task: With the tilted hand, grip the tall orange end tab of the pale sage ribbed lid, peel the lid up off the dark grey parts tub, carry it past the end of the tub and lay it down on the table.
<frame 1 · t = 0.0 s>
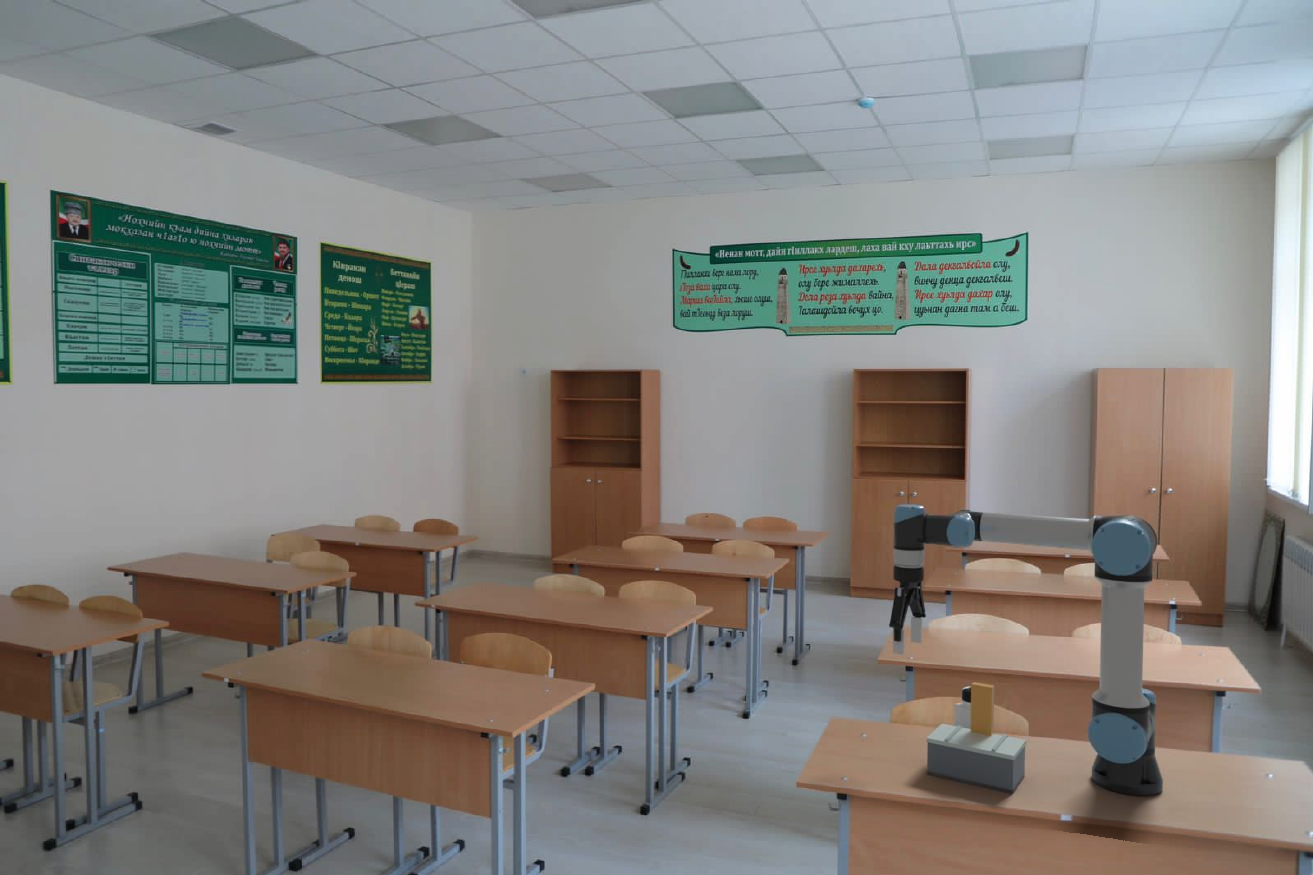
hand: (907, 648, 234), 28 cm above the table, tool pointing down, fingers open, 13 cm apart
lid: (976, 743, 222), point 8 cm above the table, touching tub
tub: (975, 775, 222), on the table
medicine bottle: (972, 732, 253), on the table
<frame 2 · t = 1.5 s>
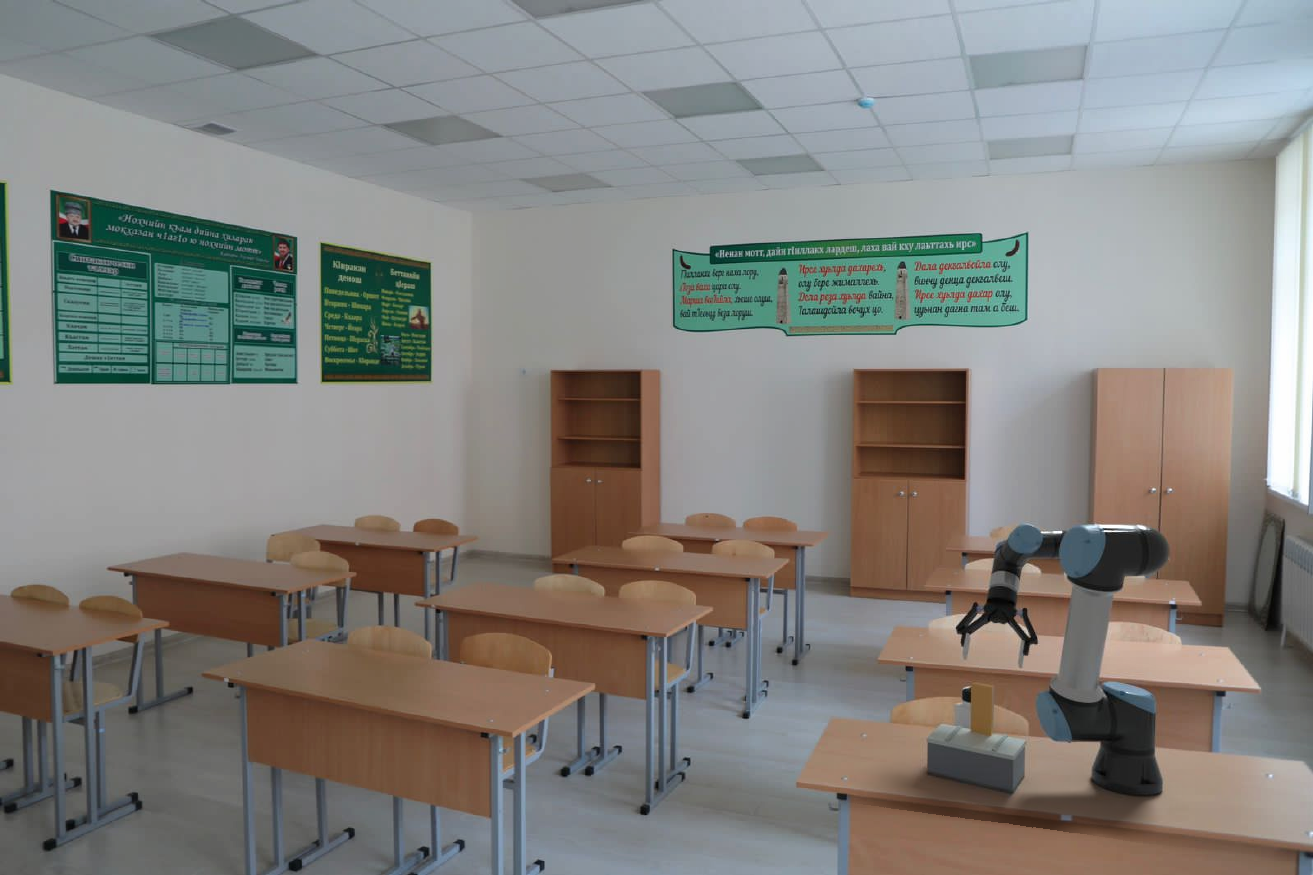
hand: (991, 661, 234), 25 cm above the table, tool tilted 45°, fingers open, 13 cm apart
nothing on the table moved.
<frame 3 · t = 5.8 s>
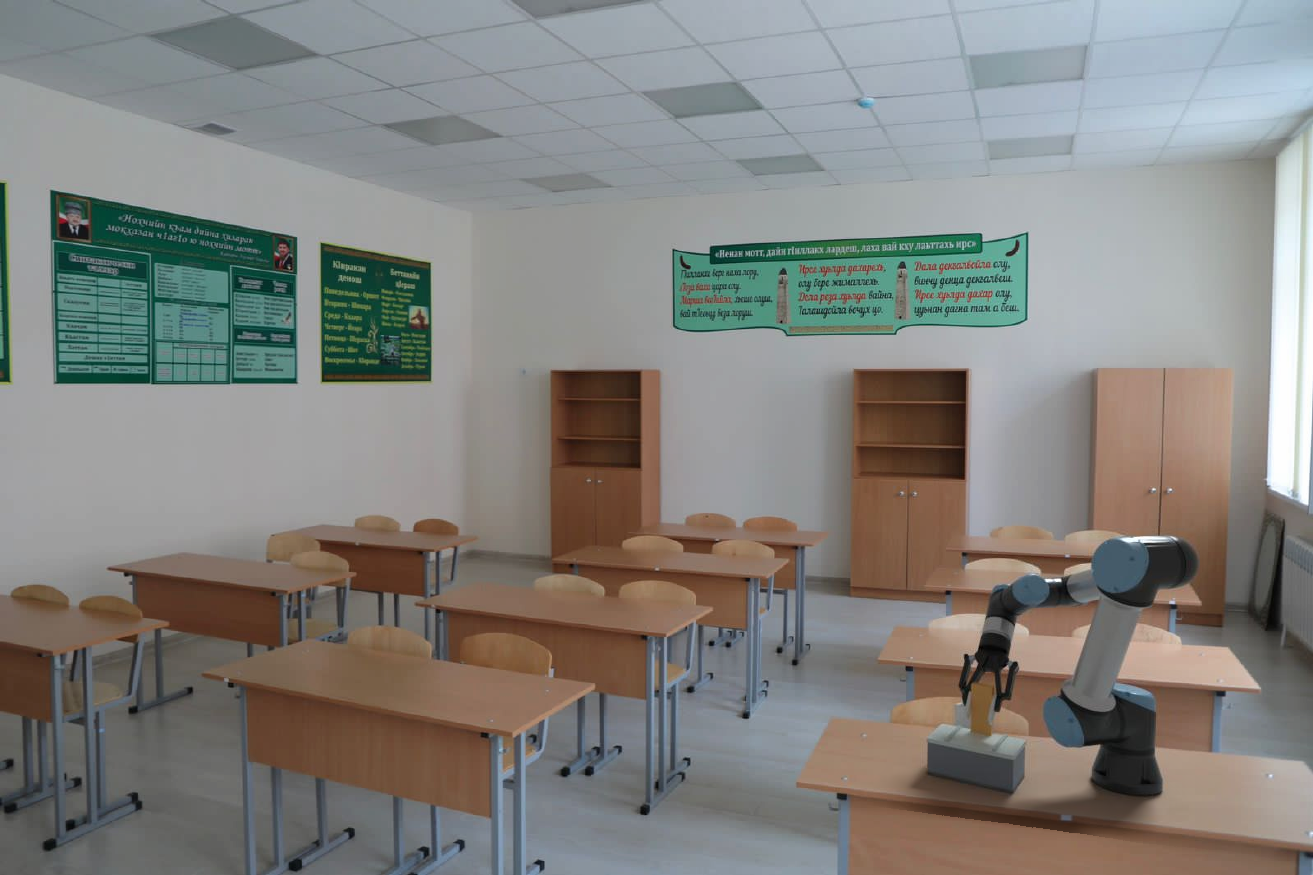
hand: (978, 719, 223), 13 cm above the table, tool tilted 45°, fingers closed on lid, 5 cm apart
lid: (976, 743, 222), point 8 cm above the table, touching gripper, tub
everything else where it was.
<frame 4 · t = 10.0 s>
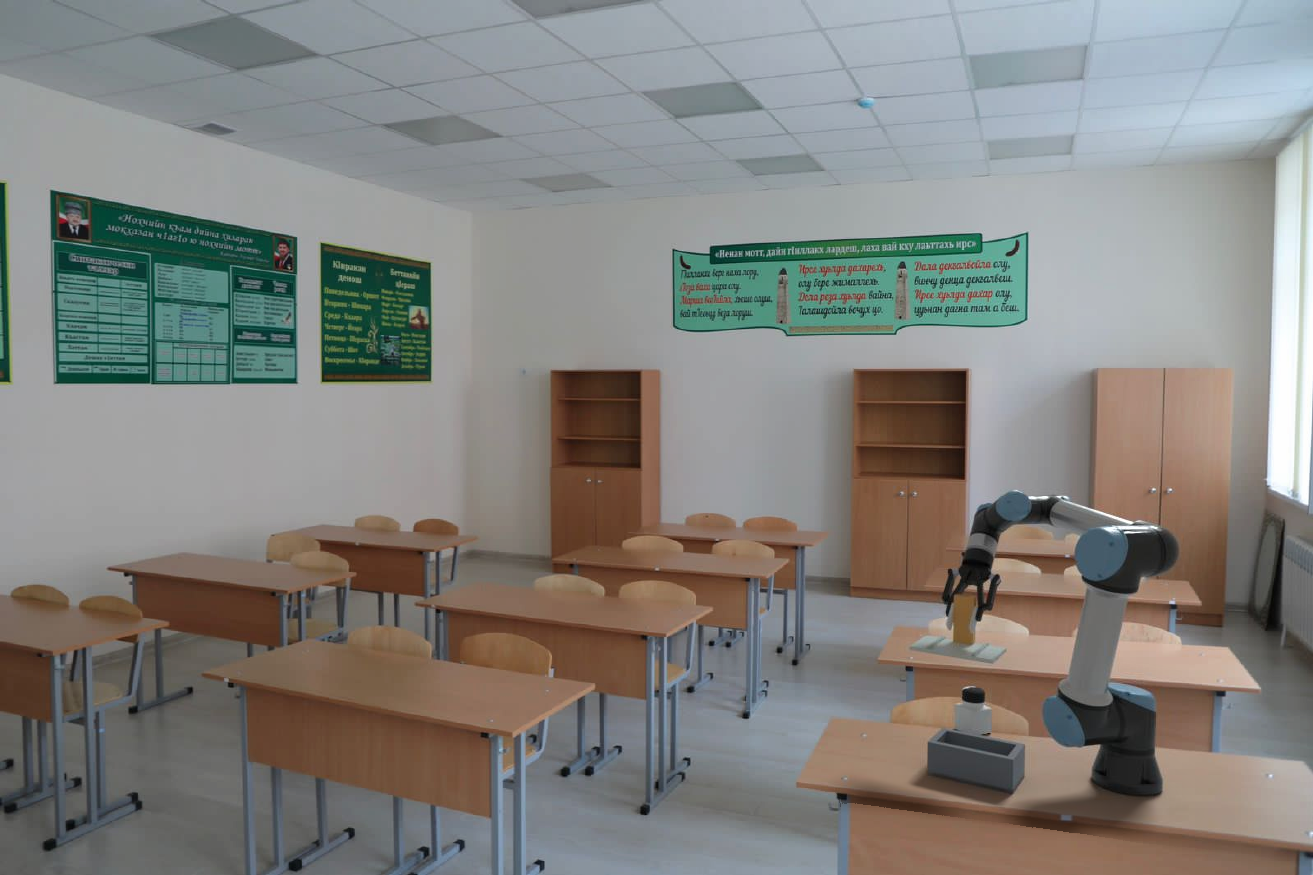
hand: (959, 628, 231), 34 cm above the table, tool tilted 45°, fingers closed on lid, 5 cm apart
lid: (957, 650, 230), point 28 cm above the table, touching gripper
everything else where it was.
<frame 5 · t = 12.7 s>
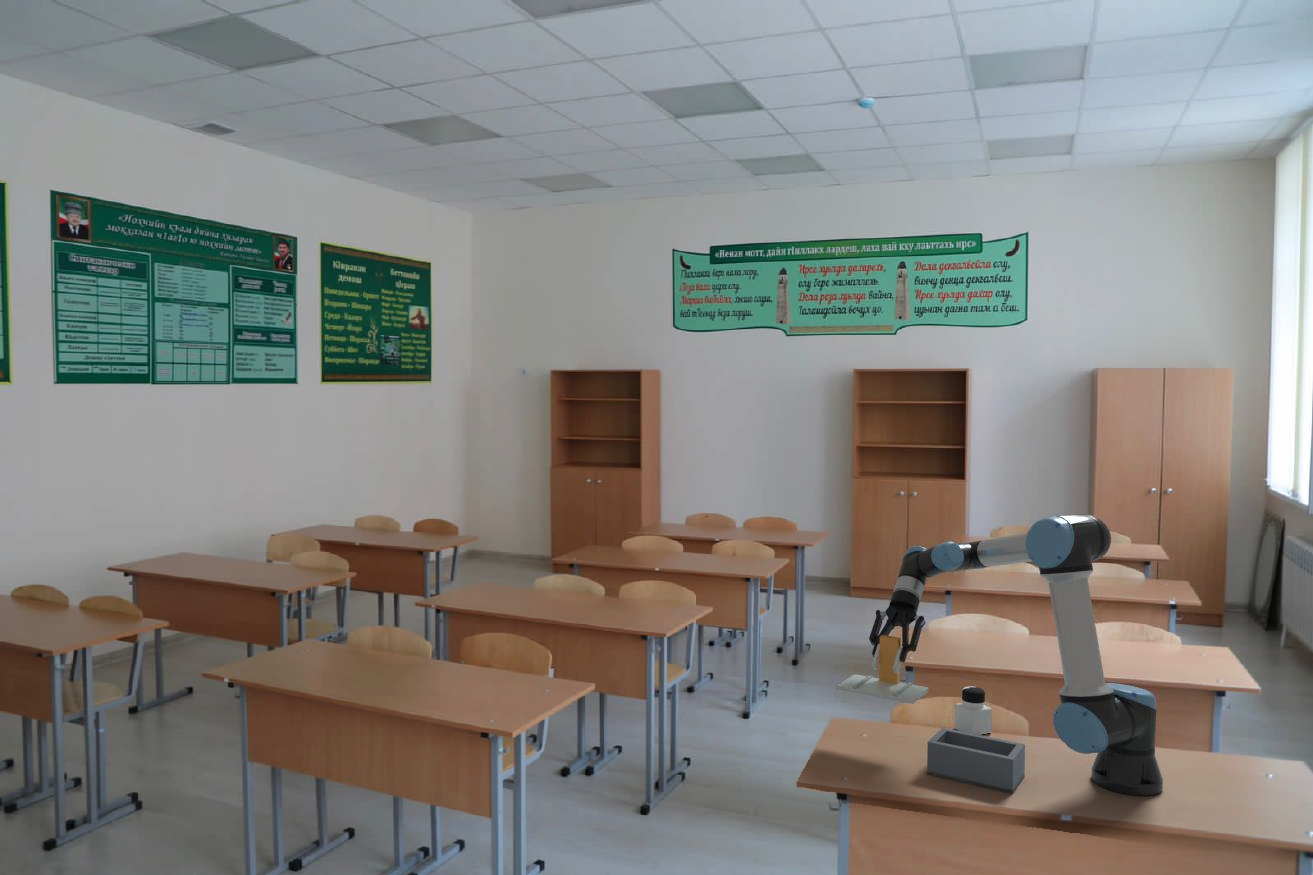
hand: (884, 669, 240), 21 cm above the table, tool tilted 45°, fingers closed on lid, 5 cm apart
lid: (882, 690, 239), point 15 cm above the table, touching gripper
everything else where it was.
when the fingers open (13 cm above the table, at t = 14.7 s): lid drops 8 cm, on the table.
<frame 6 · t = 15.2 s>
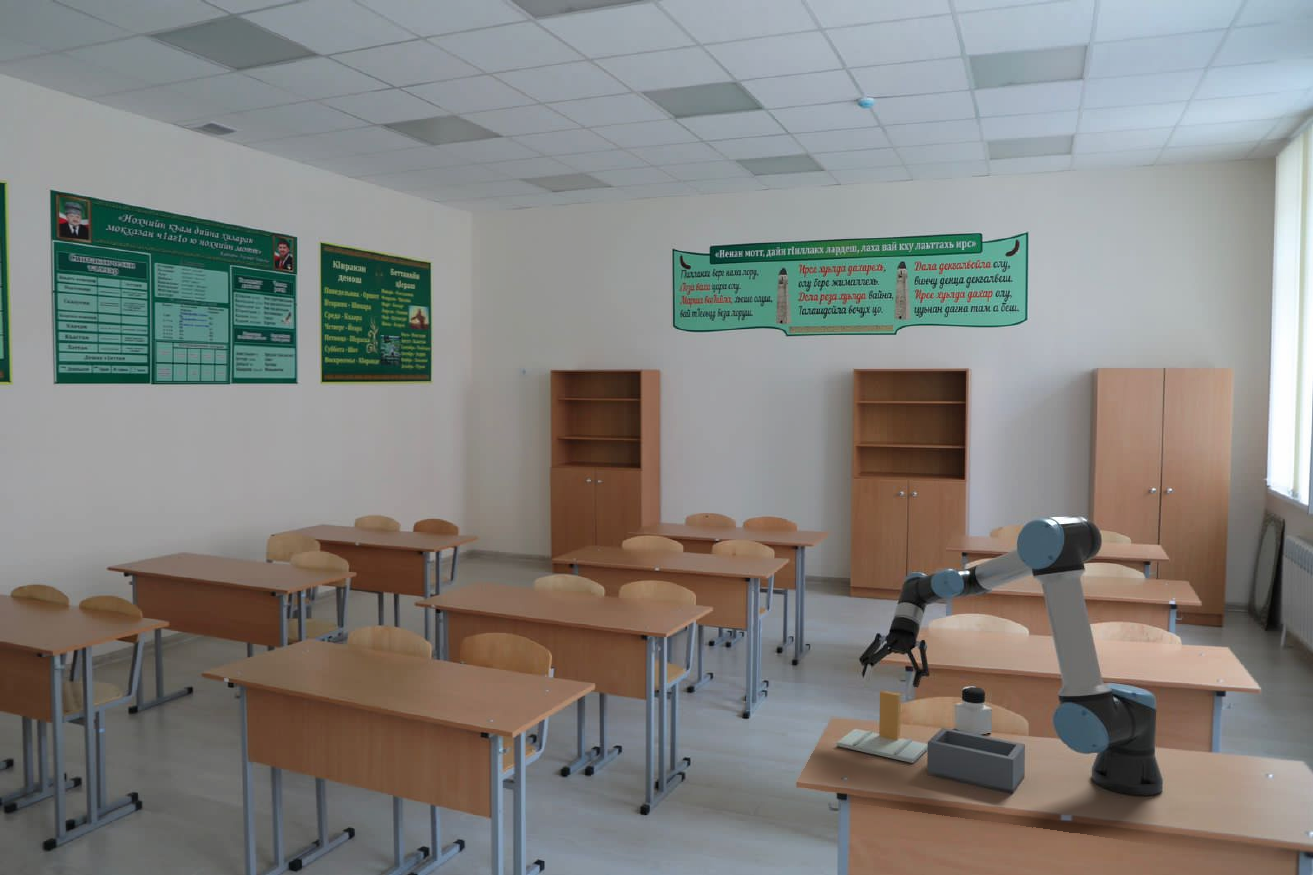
hand: (886, 692, 241), 14 cm above the table, tool tilted 45°, fingers open, 11 cm apart
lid: (882, 747, 240), on the table
everything else where it was.
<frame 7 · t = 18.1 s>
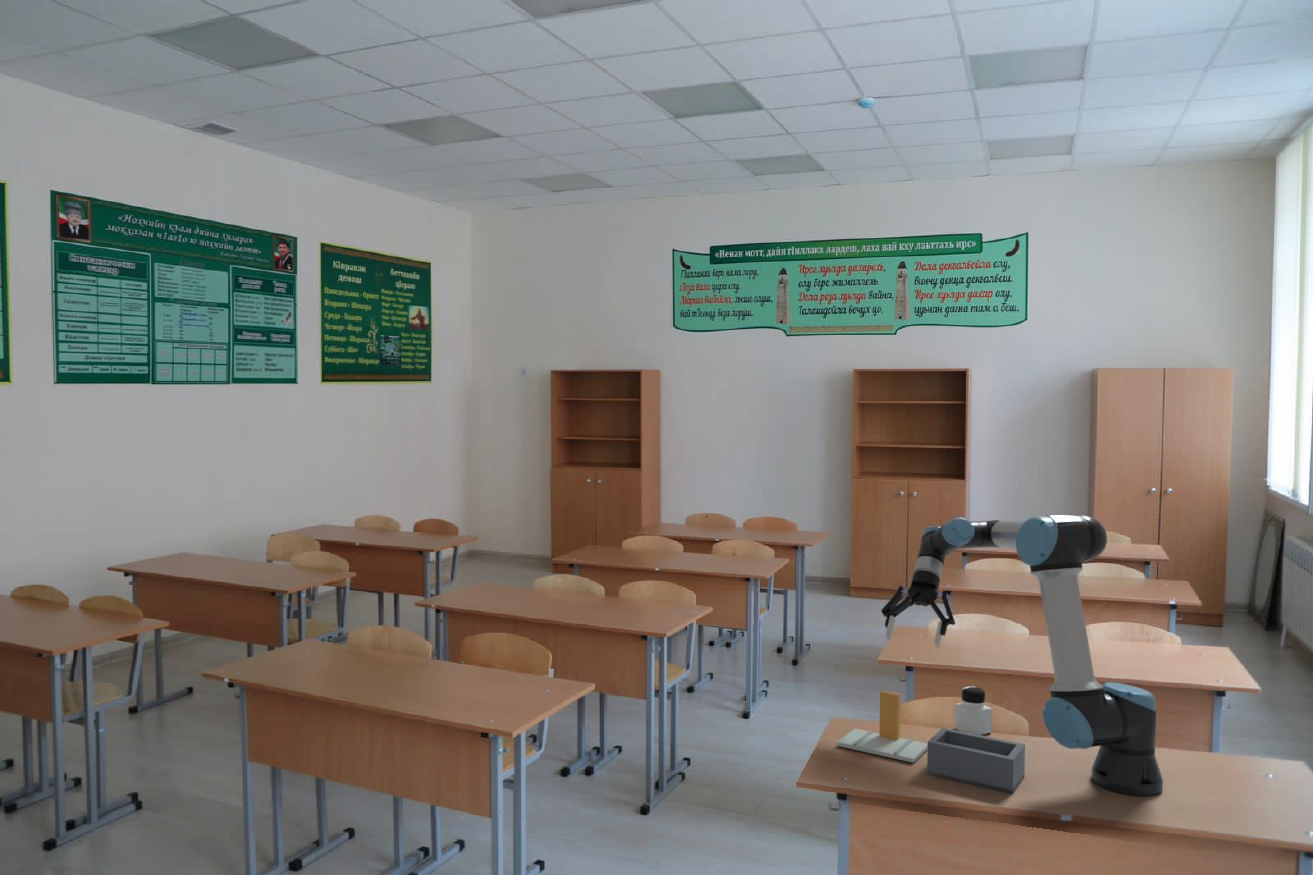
hand: (911, 641, 251), 25 cm above the table, tool tilted 40°, fingers open, 13 cm apart
nothing on the table moved.
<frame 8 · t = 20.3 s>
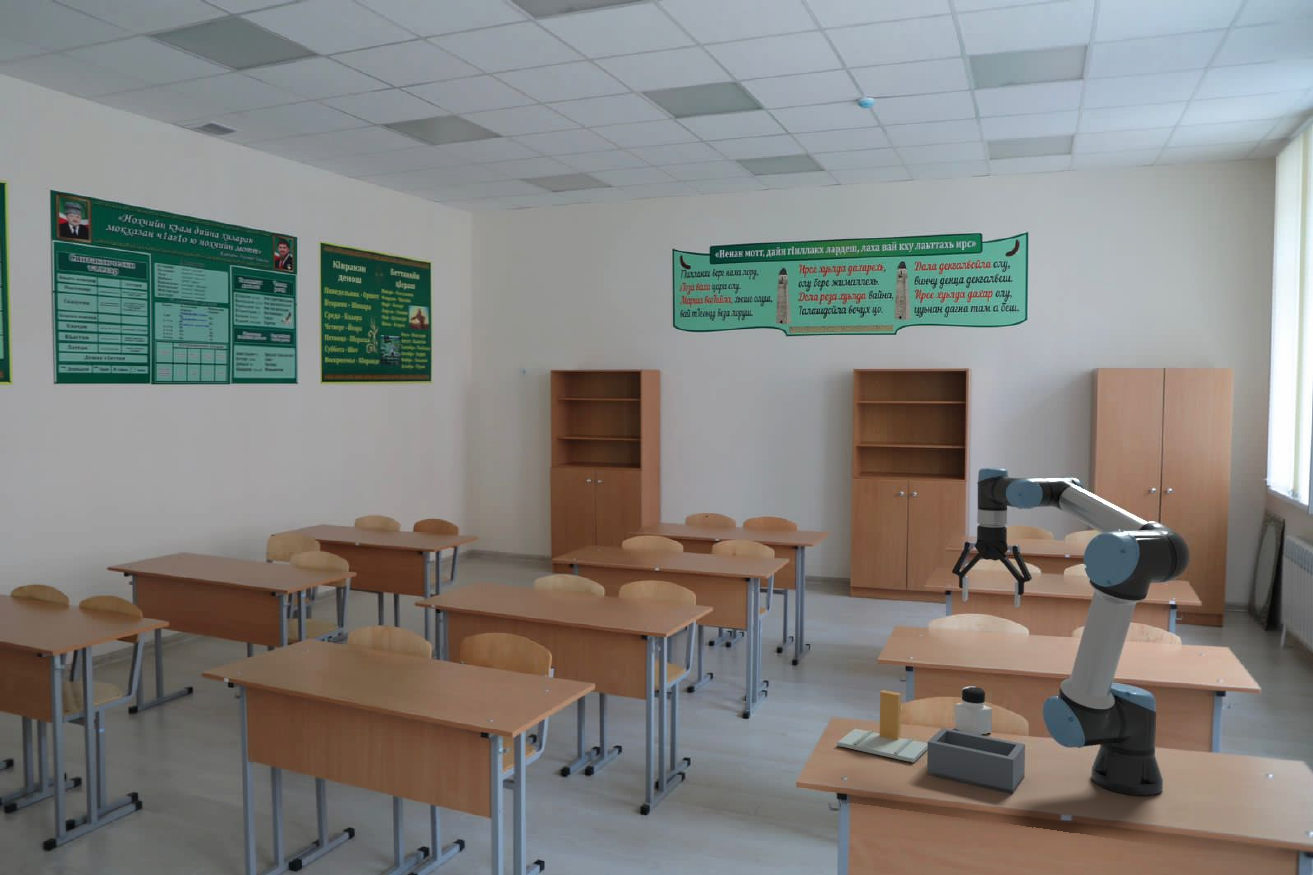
hand: (990, 603, 247), 37 cm above the table, tool pointing down, fingers open, 13 cm apart
nothing on the table moved.
at the end: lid touching table; the gripper is holding nothing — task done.
